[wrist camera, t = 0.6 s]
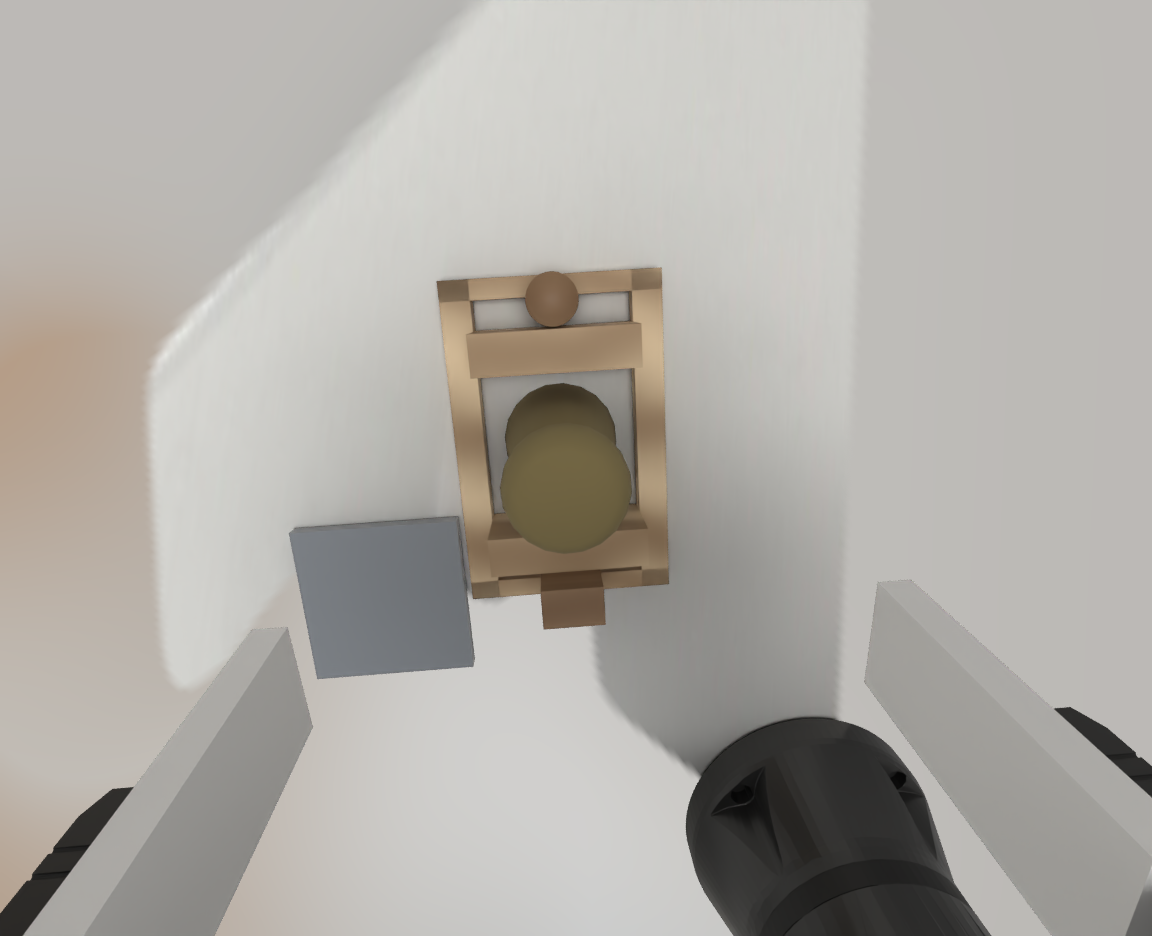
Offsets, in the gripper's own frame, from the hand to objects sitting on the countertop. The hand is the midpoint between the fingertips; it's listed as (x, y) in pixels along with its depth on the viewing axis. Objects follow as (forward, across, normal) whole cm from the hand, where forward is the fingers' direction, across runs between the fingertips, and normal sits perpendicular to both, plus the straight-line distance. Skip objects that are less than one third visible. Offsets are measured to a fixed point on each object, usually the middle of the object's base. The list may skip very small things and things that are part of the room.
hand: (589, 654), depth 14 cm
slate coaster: (+20, +11, +10) cm, 24 cm away
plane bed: (+20, 0, +1) cm, 20 cm away
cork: (+21, 0, +1) cm, 21 cm away
